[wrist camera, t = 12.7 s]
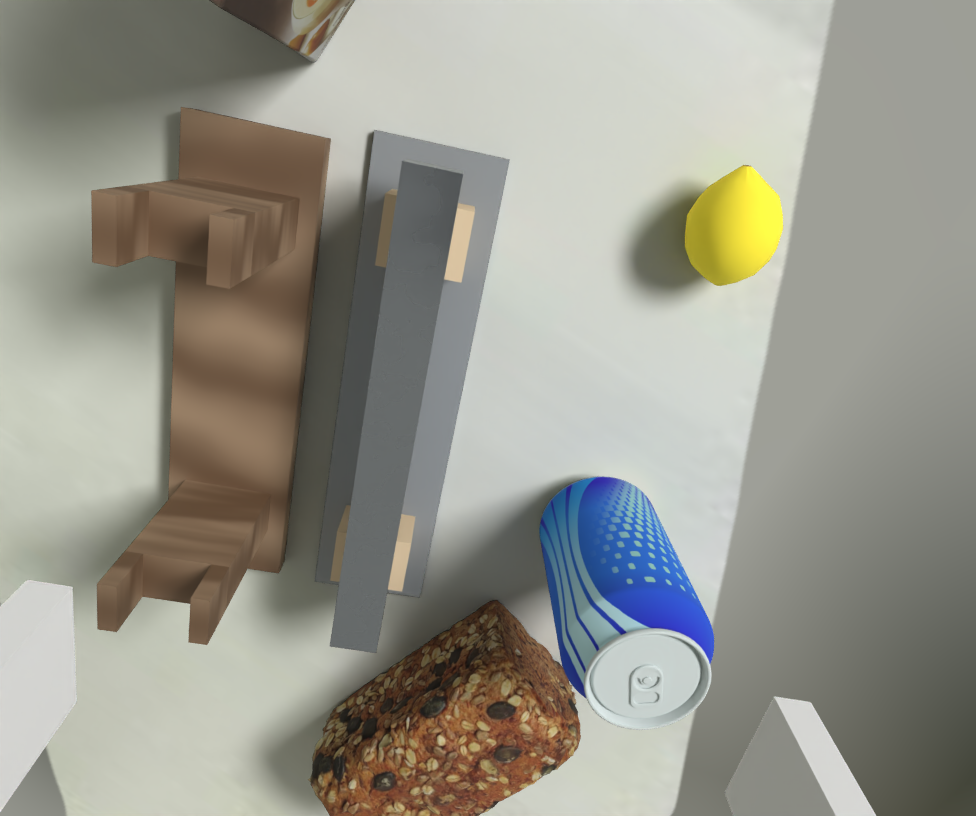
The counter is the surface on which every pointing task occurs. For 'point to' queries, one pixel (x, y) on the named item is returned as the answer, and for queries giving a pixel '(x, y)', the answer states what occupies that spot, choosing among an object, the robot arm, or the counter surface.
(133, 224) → the walnut rack
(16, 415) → the counter surface
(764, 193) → the lemon
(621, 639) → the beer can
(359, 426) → the slate mat with oak rests
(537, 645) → the bread
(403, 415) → the steel rail
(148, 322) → the counter surface
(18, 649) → the robot arm
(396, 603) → the counter surface
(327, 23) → the coffee box
